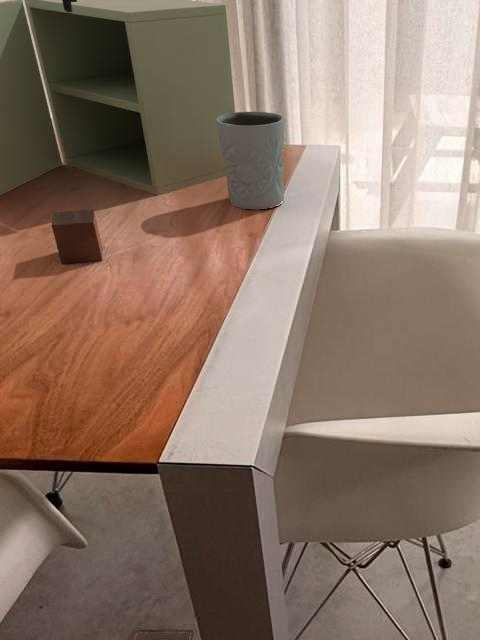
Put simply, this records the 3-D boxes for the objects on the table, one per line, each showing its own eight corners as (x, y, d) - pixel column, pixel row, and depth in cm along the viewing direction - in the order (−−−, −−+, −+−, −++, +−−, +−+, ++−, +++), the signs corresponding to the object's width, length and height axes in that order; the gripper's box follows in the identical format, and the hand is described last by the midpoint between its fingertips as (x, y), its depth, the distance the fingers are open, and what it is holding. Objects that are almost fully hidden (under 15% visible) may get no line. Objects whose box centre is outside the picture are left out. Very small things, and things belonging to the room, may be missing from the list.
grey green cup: (243, 216, 103) (235, 128, 95) (213, 198, 109) (203, 114, 101) (300, 204, 108) (297, 120, 100) (268, 188, 114) (263, 107, 106)
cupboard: (158, 196, 109) (128, 12, 94) (64, 164, 122) (23, -3, 106) (240, 172, 120) (225, 4, 105) (146, 145, 133) (120, -9, 117)
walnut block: (61, 264, 88) (51, 225, 84) (63, 250, 91) (53, 212, 88) (102, 260, 89) (93, 222, 85) (102, 246, 92) (93, 209, 89)
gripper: (64, -205, 67) (105, 7, 78) (-133, -215, 63) (-61, 10, 74) (61, -216, 61) (105, 13, 72) (-155, -228, 58) (-74, 17, 68)
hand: (21, 11), depth 73 cm, fingers open, 9 cm apart
